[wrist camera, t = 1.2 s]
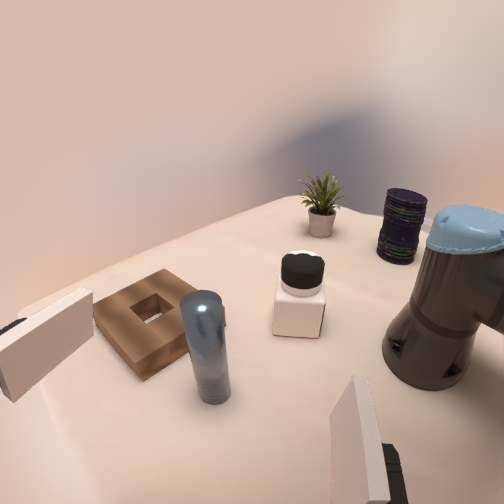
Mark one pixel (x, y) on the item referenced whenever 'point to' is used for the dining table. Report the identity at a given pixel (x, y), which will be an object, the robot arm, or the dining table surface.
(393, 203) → the storage jar
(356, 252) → the dining table surface
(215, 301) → the pin
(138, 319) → the socket block
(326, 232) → the house plant
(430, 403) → the dining table surface
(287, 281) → the medicine bottle
